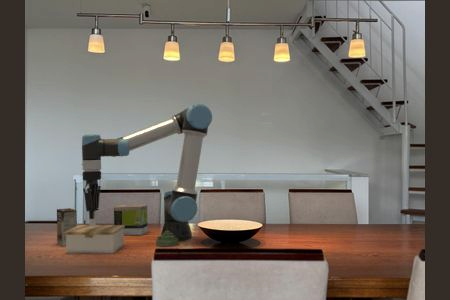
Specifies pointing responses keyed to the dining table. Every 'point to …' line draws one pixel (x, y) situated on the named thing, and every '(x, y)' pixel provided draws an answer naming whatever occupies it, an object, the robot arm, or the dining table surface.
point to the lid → (94, 230)
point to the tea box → (131, 218)
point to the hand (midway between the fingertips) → (93, 226)
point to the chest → (94, 243)
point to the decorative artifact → (167, 240)
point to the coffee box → (65, 223)
